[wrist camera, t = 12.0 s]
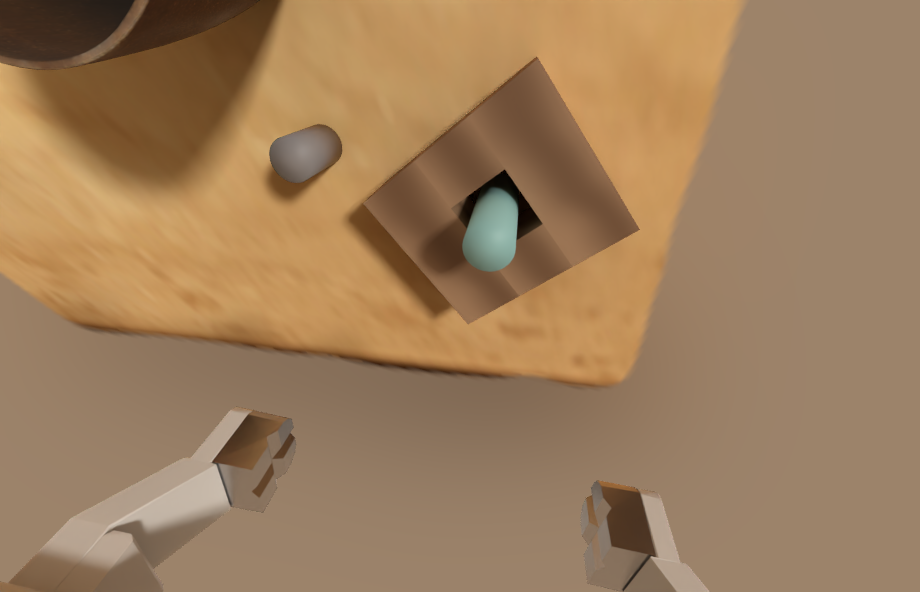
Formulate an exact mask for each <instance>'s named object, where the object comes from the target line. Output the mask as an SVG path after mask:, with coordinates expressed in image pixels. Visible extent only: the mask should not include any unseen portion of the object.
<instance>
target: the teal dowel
mask: <svg viewBox="0 0 920 592" xmlns="http://www.w3.org/2000/svg"><path fill="white" fill-rule="evenodd" d="M518 207H519V189H518V187H517V186H516V184H515V183H514V181H513V180H512V179H511V177H510V176H508V175H505V174H498V175H496V176H495V177H493V178H492V179H491V180H489V181H488V182H486V183H485V184H484V185H482V187H481V190H480V193H479V196H478V198H477V201H476V204H475V207H474V210H473V213H472V216H471V219H470V222H469V225H468V228H467V231H466V233H465V236H464V239H463V244H462V249H463V254H464V256H465V258H466V260H467V261H468V262H469V263H470V264H471V265H472V266H473V267H475V268H477V269H479V270H482V271H487V272H492V271H498V270H500V269H503V268H504V267H506V266H507V265H508V264H509V263H510V262H511V261H512V259H513V257H514V255H515V250H516V237H517V222H518Z"/></svg>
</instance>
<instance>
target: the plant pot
mask: <svg viewBox="0 0 920 592" xmlns="http://www.w3.org/2000/svg"><path fill="white" fill-rule="evenodd" d="M258 1H260V0H0V63H4V64H8V65H12V66H17V67H21V68H29V69H36V70H57V69H66V68H72V67H77V66H81V65H86V64H90V63H95V62H99V61H104V60H108V59H112V58H116V57H120V56H125V55H128V54H132V53H136V52H140V51H144V50H148V49H151V48H155V47H159V46H163V45H166V44H169V43H172V42H175V41H178V40H181V39H184V38H187V37H190V36H192V35H195V34H198V33H201V32H203V31H205V30H208V29H210V28H212V27H214V26H217V25H219V24H221V23H223V22H225V21H227V20H229V19H231V18H233V17H235V16H236V15H238V14H240V13H241V12H243V11H245V10H246V9H248V8H250V7H251V6H252V5H254V4H255V3H257V2H258Z"/></svg>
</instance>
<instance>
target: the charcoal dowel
mask: <svg viewBox="0 0 920 592" xmlns="http://www.w3.org/2000/svg"><path fill="white" fill-rule="evenodd" d="M341 154H342V144H341V141H340V138H339V137H338V135H337V134H336V132H335V131H334V130H333V129H331V128H330V127H328V126H326V125H322V124H317V125H314V126H311V127H308V128H305V129H302V130H300V131H297V132H294V133H291V134H289V135H286V136H283V137H280V138H278V139H276V140H275V141H274V142H273V143H272V145H271V147H270V152H269V155H270V161H271V164H272V166H273V168H274V170H275V171H276V172H277V173H278V174H279V175H280V176H281V177H282V178H283V179H285V180H287V181H289V182H293V183H301V182H304V181H305V180H307V179H309V178H311V177H312V176H314V175H316V174H317V173H319V172H321V171H322V170H324V169H326V168H327V167H329V166H331V165H332V164H334V163H336V162H337V161H338V160H339V159H340V157H341Z"/></svg>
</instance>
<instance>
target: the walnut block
mask: <svg viewBox="0 0 920 592" xmlns="http://www.w3.org/2000/svg"><path fill="white" fill-rule="evenodd" d="M504 169H505V170H506V171H507V173H508V174H509V176H510V177H511V179H512V180H513V181H514V183H515V184H516V186H517V187H518V189H519V190H520V192H521V193H522V194H523V196H524V197H525V199H526V200H527V202H528V203H529V204H530V206H531V207H529V208H528V209H526V210H525V211H523V212H522V213H520V214H519V215H518V222H517V237H516V250H515V255H514V257H513V259H512V261H511V262H510V263H509V264H508V265H507V266H506V267H504V268H503V269H500V270H498V271H492V272H487V271H482V270H479V269H477V268H475V267H473V266H472V265H471V264H470V263H469V262H468V261H467V260H466V258H465V256H464V254H463V249H462V244H463V239H464V236H465V233H466V231H467V228H468V225H469V222H470V219H471V216H472V213H473V210H474V207H475V204H474V203H473V201H472V200H471V199H470V197H469V196H468V195H470V194H471V193H473V192H474V191H475V190H477V189H478V188H480V187H481V186H482V185H484V184H485V183H486V182H488V181H489V180H491V179H492V178H493V177H495V176H496V175H498V174H499V173H500V172H502V171H503V170H504ZM363 204H364V205H365V206H366V208H367V209H368V210H369V211H370V212H371V213H372V214H373V216H374V217H375V218H376V219H377V220H378V221H379V222H380V224H381V225H382V226H383V227H384V228H385V229H386V231H387V232H388V233H389V234H390V235H391V236H392V237H393V239H394V240H395V241H396V242H397V243H398V244H399V245H400V247H401V248H402V249H403V250H404V251H405V252H406V254H407V255H408V256H409V257H410V258H411V259H412V260H413V262H414V263H415V264H416V265H417V266H418V267H419V268H420V270H421V271H422V272H423V273H424V274H425V275H426V277H427V278H428V279H429V280H430V281H431V282H432V283H433V285H434V286H435V287H436V288H437V289H438V290H439V291H440V293H441V294H442V295H443V296H444V297H445V298H446V300H447V301H448V302H449V303H450V304H451V305H452V306H453V308H454V309H455V310H456V311H457V312H458V313H459V314H460V316H461V317H462V318H463V319H464V320H465V321H466V323H467V324H469V323H471V322H473V321H475V320H477V319H478V318H480V317H482V316H484V315H486V314H488V313H489V312H491V311H493V310H495V309H497V308H498V307H500V306H502V305H504V304H506V303H508V302H509V301H511V300H513V299H515V298H517V297H518V296H520V295H522V294H524V293H526V292H527V291H529V290H531V289H533V288H535V287H537V286H538V285H540V284H542V283H544V282H546V281H547V280H549V279H551V278H553V277H555V276H557V275H558V274H560V273H562V272H564V271H566V270H567V269H569V268H571V267H573V266H575V265H576V264H578V263H580V262H582V261H584V260H586V259H587V258H589V257H591V256H593V255H595V254H596V253H598V252H600V251H602V250H604V249H606V248H607V247H609V246H611V245H613V244H615V243H616V242H618V241H620V240H622V239H624V238H625V237H627V236H629V235H631V234H633V233H635V232H636V231H638V230H640V229H639V228H638V226H637V224H636V223H635V221H634V219H633V218H632V216H631V214H630V213H629V211H628V209H627V207H626V206H625V204H624V202H623V201H622V199H621V197H620V196H619V194H618V192H617V191H616V189H615V187H614V186H613V184H612V182H611V180H610V179H609V177H608V175H607V174H606V172H605V170H604V169H603V167H602V165H601V164H600V162H599V160H598V159H597V157H596V155H595V153H594V152H593V150H592V148H591V147H590V145H589V143H588V142H587V140H586V138H585V137H584V135H583V133H582V132H581V130H580V128H579V126H578V125H577V123H576V121H575V120H574V118H573V116H572V115H571V113H570V111H569V110H568V108H567V106H566V105H565V103H564V101H563V99H562V98H561V96H560V94H559V93H558V91H557V89H556V88H555V86H554V84H553V83H552V81H551V79H550V78H549V76H548V74H547V72H546V71H545V69H544V67H543V66H542V64H541V62H540V61H539V59H538V58H537V57H536V58H534V59H533V60H532V61H531V62H530V63H528V64H527V65H526V66H525V67H524V68H522V69H521V70H520V71H519V72H518V73H516V74H515V75H514V76H513V77H512V78H510V79H509V80H508V81H507V82H506V83H504V84H503V85H502V86H501V87H500V88H498V89H497V90H496V91H495V92H494V93H492V94H491V95H490V96H489V97H488V98H486V99H485V100H484V101H483V102H482V103H480V104H479V105H478V106H477V107H476V108H474V109H473V110H472V111H471V112H470V113H468V114H467V115H466V116H465V117H464V118H462V119H461V120H460V121H459V122H457V123H456V124H455V125H454V126H453V127H451V128H450V129H449V130H448V131H447V132H445V133H444V134H443V135H442V136H441V137H439V138H438V139H437V140H436V141H435V142H433V143H432V144H431V145H430V146H429V147H427V148H426V149H425V150H424V151H423V152H421V153H420V154H419V155H418V156H417V157H415V158H414V159H413V160H412V161H411V162H409V163H408V164H407V165H406V166H405V167H403V168H402V169H401V170H400V171H399V172H397V173H396V174H395V175H394V176H393V177H391V178H390V179H389V180H388V181H387V182H385V183H384V184H383V185H382V186H381V187H380V188H379V189H378V190H377V191H376V192H375V193H374V194H372V195H371V196H370V197H369V198H368V199H367V200H366V201H365V202H364V203H363Z"/></svg>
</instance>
